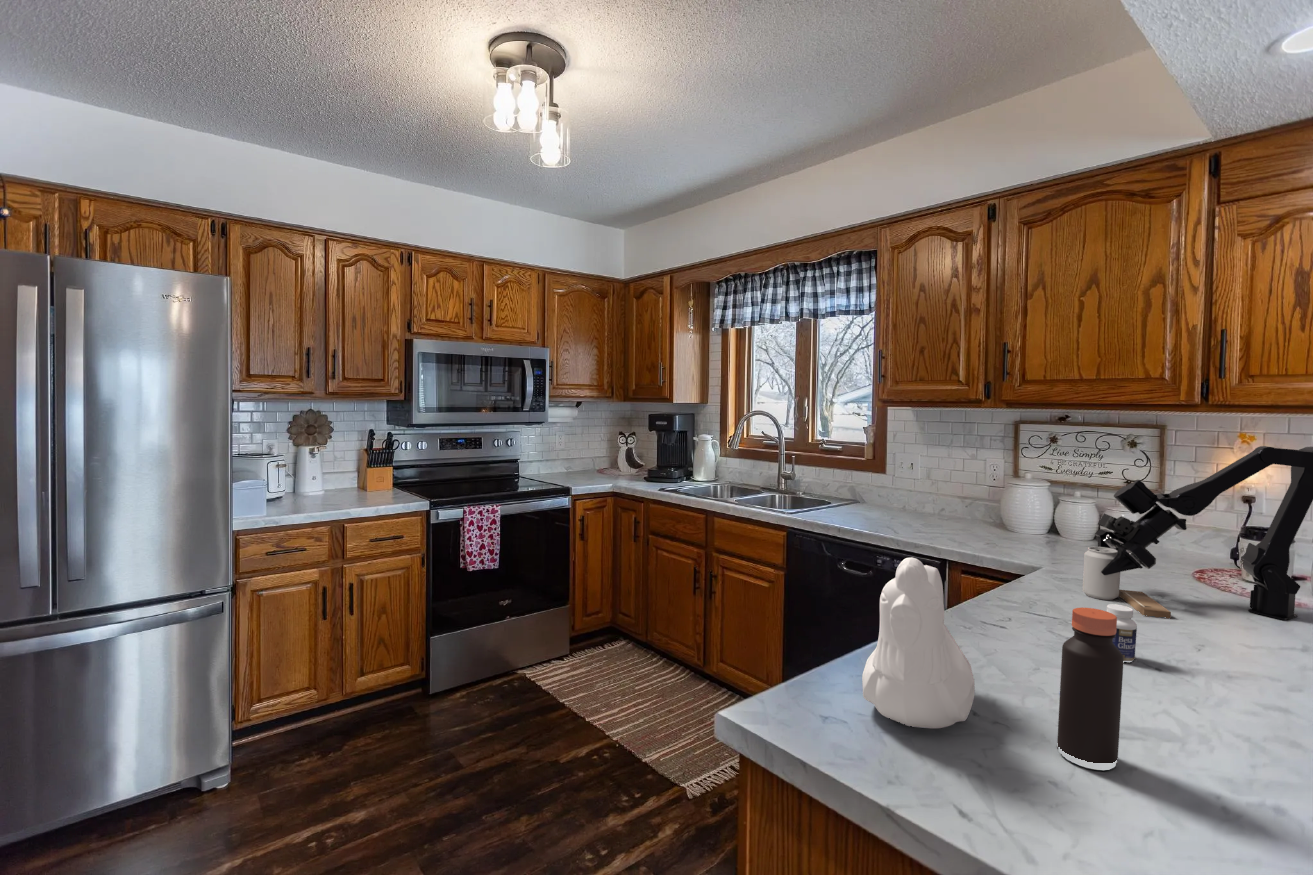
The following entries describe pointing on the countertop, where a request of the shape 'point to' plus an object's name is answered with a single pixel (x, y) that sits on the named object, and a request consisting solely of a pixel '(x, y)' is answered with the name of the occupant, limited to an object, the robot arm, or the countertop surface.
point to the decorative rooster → (917, 654)
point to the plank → (1144, 603)
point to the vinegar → (1091, 688)
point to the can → (1100, 574)
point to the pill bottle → (1124, 630)
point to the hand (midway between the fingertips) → (1095, 569)
